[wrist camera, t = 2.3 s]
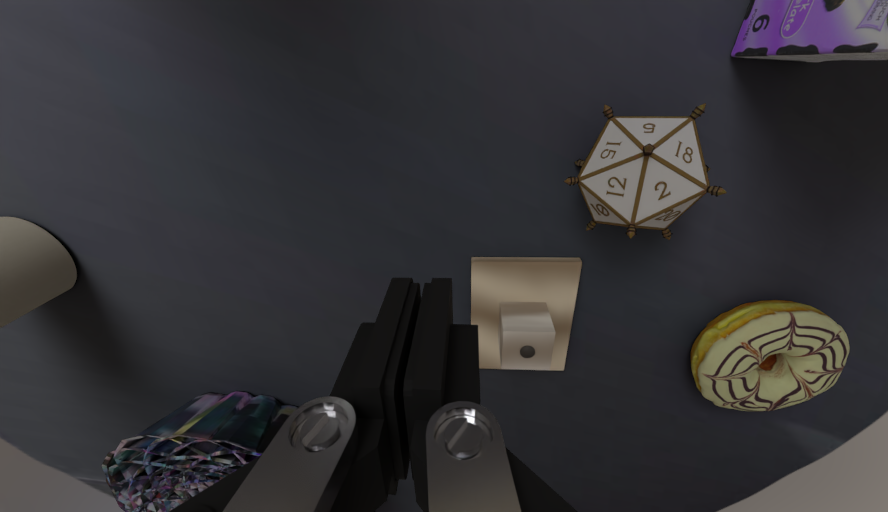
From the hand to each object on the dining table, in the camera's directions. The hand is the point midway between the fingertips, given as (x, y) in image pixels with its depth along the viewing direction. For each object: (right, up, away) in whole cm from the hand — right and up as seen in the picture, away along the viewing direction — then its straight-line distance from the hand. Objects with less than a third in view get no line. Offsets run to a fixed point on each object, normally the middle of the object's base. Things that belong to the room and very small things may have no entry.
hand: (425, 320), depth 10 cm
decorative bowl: (-22, -22, +35) cm, 47 cm away
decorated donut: (+29, -6, +23) cm, 37 cm away
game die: (+13, +9, +16) cm, 23 cm away
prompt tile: (+8, -4, +23) cm, 24 cm away
